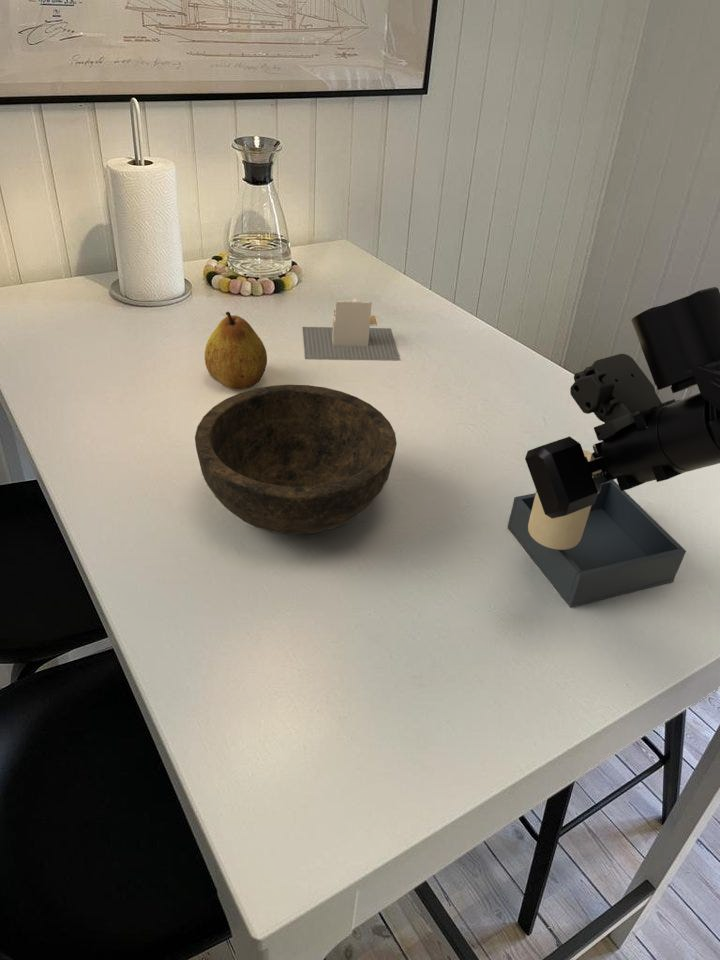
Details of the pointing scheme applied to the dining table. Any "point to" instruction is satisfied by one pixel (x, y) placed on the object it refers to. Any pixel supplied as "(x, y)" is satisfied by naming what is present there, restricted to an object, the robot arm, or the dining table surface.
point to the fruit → (235, 354)
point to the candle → (558, 524)
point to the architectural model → (350, 336)
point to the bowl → (295, 456)
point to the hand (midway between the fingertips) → (559, 474)
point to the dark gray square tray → (603, 549)
